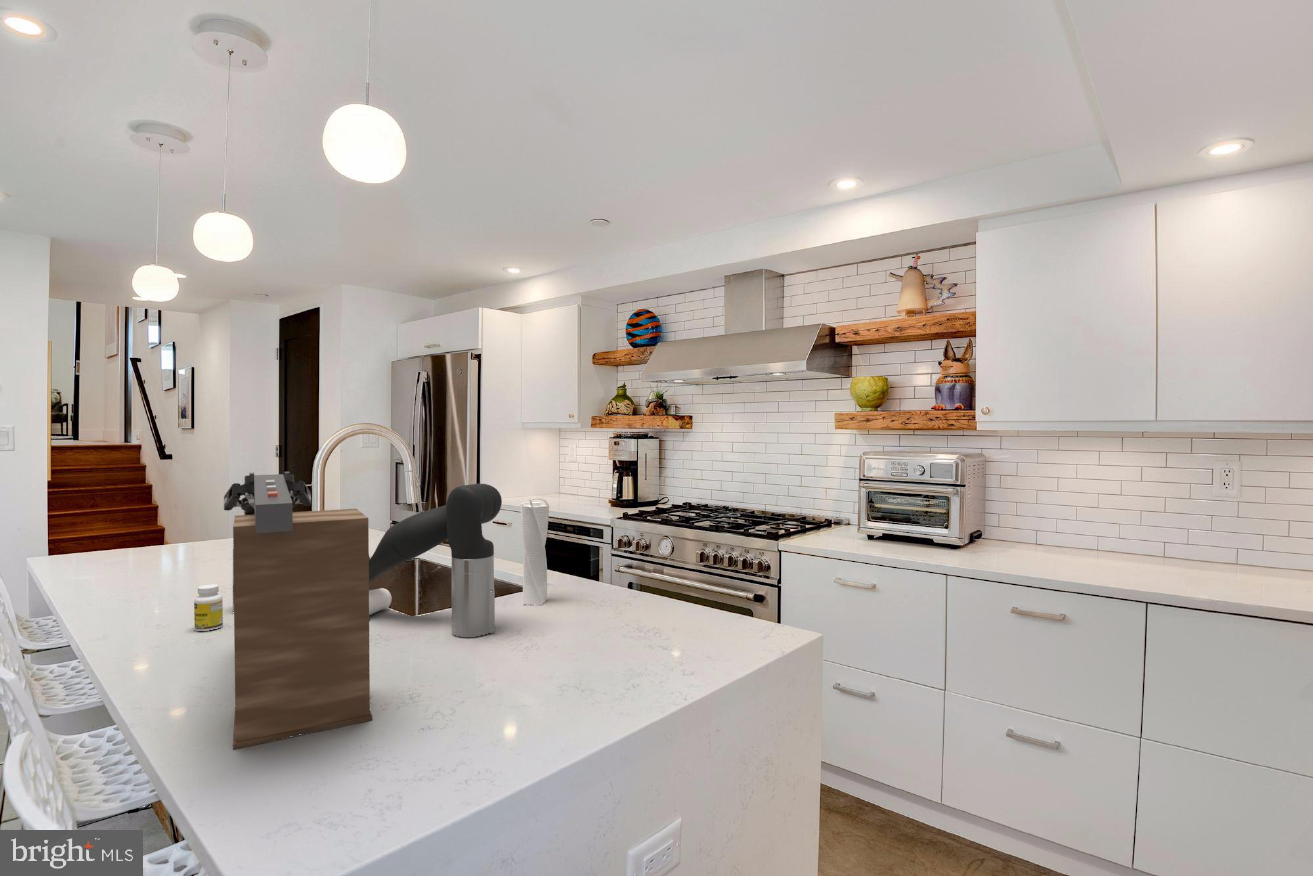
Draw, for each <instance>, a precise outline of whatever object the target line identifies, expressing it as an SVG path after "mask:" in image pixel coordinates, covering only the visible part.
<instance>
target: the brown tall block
mask: <svg viewBox="0 0 1313 876" xmlns="http://www.w3.org/2000/svg"><path fill="white" fill-rule="evenodd" d="M292 523H293V531H283V532H268V533H256V530H255V515H244V514H243V515H234V520H233V526H232V536H233V537H232V538H233V539H232V540H233V541H232V542H233V543H232V544H233V545H232V546H233V547H232V559H233V558H234V613H233V620H234V621H233V622H234V624H233V627H234V629H233V631H234V633H233V635H234V637H233V638H234V720H233V722H234V723H233V735H232V736H233V738H232V750H236V748H238V749H242V747H243V748H246V746H248V747H251V746H255V744H257V745H262V744H265V742H266V743H270V741H271V742H274V741H273V740H276V741H280V740H279V739H281V740H283V739H282V738H285V739H288V738H287V737H290V736H295V737H298V736H297V735H299V734H304V735H307V734H306V733H309V734H312V733H311V732H314V733H317V732H316V731H318V732H322V730H323V731H326V730H325V729H328V730H331V729H332V728H333V729H336V728H335V727H337V728H342V727H346V726H345V725H347V726H351V725H356V724H361V723H367V722H369V721H373V714H372V711H371V708H370V707H371V706H370V704H371V702H370V700H371V697H370V695H371V694H370V693H371V691H370V689H371V688H370V687H371V686H370V675H371V674H370V615H369V590H370V582H369V557H370V554H369V551H370V550H369V548H370V547H369V541H370V540H369V537H370V536H369V535H370V534H369V517H368V516H366V515H365V514H364V513H362V512H361V511H360V510H359V509H357V508H345V509H344V508H343V509H342V508H341V509H325V510H312V511H311V510H308V511H292ZM290 738H291V737H290ZM261 743H262V744H261Z"/></svg>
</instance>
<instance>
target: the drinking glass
mask: <svg viewBox="0 0 1313 876" xmlns="http://www.w3.org/2000/svg"><path fill="white" fill-rule="evenodd" d="M391 603H392V595H391V592H390V591H389V590H388V589H386V588H383V587H381V588H376V589H369V616H372V615H373V614H376V613H378V612H380V611H383V610H386V609H388V608H389V607H390V605H391ZM385 608H386V609H385Z"/></svg>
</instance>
